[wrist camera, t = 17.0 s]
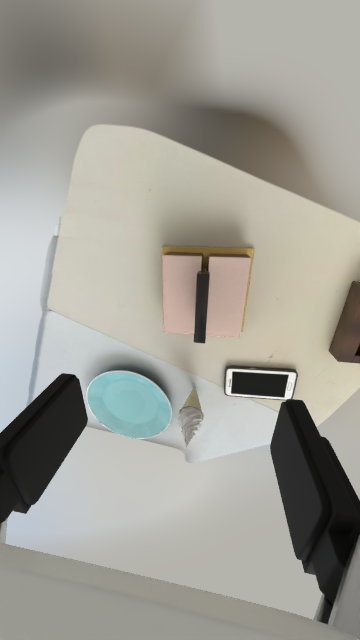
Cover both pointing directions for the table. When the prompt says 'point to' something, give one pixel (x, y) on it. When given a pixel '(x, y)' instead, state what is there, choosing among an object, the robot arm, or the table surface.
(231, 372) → the cell phone
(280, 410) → the robot arm
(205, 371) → the table surface
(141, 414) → the plate
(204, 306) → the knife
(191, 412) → the ice cream cone
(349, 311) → the brown slotted box
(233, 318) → the cake
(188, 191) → the table surface
